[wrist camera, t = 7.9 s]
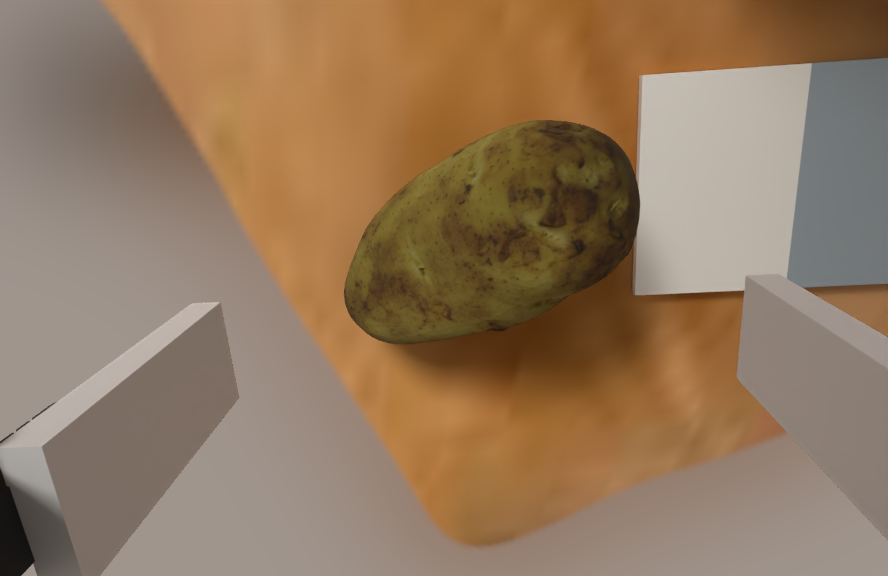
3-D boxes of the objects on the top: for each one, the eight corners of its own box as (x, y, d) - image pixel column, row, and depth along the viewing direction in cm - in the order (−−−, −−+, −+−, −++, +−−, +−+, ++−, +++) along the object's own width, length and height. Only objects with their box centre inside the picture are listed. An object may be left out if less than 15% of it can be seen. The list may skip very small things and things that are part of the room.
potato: (320, 167, 28) (263, 196, 20) (594, 97, 26) (643, 99, 19) (370, 327, 30) (336, 406, 23) (623, 271, 29) (677, 336, 21)
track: (639, 75, 26) (642, 75, 25) (1157, 38, 24) (1170, 37, 24) (632, 292, 29) (634, 295, 28) (1091, 270, 28) (1102, 273, 27)
